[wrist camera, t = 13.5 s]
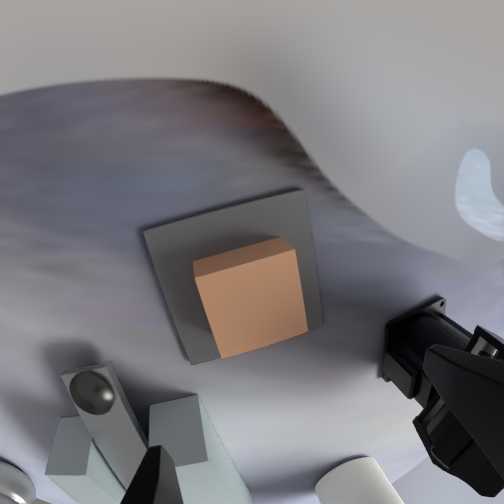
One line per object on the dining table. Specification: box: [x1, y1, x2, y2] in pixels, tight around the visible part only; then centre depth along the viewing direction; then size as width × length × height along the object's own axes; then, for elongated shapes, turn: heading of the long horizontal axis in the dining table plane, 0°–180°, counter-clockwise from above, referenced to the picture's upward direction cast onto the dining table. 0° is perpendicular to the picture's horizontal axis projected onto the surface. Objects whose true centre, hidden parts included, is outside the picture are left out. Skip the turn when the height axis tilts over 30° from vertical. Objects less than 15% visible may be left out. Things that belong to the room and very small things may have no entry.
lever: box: [61, 361, 149, 489], centre depth 17 cm, size 21×4×1 cm, turn 12°
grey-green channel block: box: [45, 394, 254, 504], centre depth 19 cm, size 18×12×6 cm, turn 12°
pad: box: [143, 189, 323, 365], centre depth 18 cm, size 9×9×1 cm
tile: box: [193, 237, 308, 359], centre depth 17 cm, size 5×5×2 cm
